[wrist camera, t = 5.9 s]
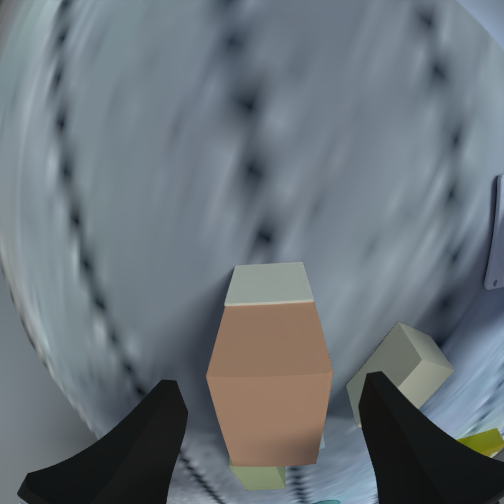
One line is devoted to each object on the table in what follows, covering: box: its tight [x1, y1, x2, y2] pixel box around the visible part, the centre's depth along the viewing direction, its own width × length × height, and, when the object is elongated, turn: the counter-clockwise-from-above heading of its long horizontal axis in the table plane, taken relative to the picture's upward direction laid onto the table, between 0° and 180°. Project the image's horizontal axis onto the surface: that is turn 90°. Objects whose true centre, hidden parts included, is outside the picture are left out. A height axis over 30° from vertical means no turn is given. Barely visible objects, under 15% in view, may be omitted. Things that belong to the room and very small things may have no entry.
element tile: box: [457, 428, 504, 458], centre depth 22 cm, size 15×15×5 cm
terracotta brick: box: [206, 302, 333, 467], centre depth 10 cm, size 6×4×4 cm, turn 4°
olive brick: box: [229, 458, 285, 490], centre depth 18 cm, size 6×4×4 cm, turn 12°
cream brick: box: [346, 322, 454, 427], centre depth 15 cm, size 6×4×4 cm, turn 155°
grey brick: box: [224, 262, 314, 306], centre depth 14 cm, size 6×4×4 cm, turn 4°
